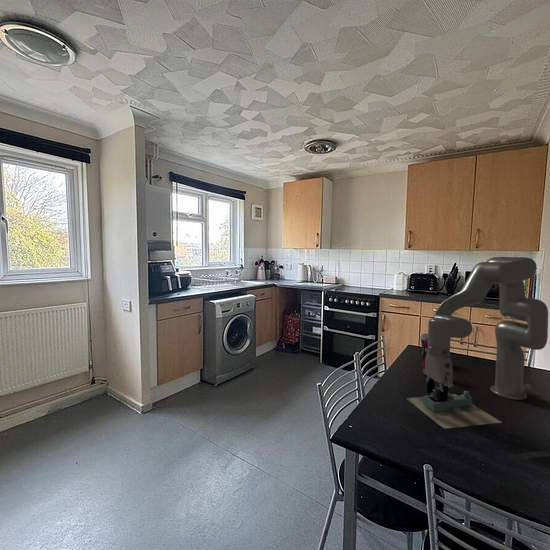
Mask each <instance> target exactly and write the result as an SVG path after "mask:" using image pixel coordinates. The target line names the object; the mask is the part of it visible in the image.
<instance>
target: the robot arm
mask: <svg viewBox="0 0 550 550" xmlns="http://www.w3.org/2000/svg"><path fill="white" fill-rule="evenodd" d="M537 269H538V268H537V263H536V261H535V260H534V259H533V258H530V257H527V256H524V257H523V256H521V257H520V256H495V257H490V258H489V259H487V260H486V261H482V262H478V263H477V264H475V265H474V267H473V268H472V270H471V271H470V273H469V275H468V276H467V278H466V280H465V281H464V284H463V285H462V288H461V289H460V290H459V291H458V292H455V293H454V294H453V295H451V296H450V297H448V298H446V299H445V300H444V301H442V302H441V303H440V304H439V306H438V308H437V309H436V311H435V313H434V315H433V317H431V318H429V320H428V325H427V327H428V328H427V329H428V330H427V334H428V350H427V355H426V362H425V368H424V369H423V368H422V373H423V372H424V374H425V375H424V377H425V382H426V393H427V394H431V393H433V389H434V388H435V385H436V383H438V384H439V388H440V390H441V391H439V401H440V402H442V401H447V400H448V393H449V392H450V391H451V390H452V388H454V387H455V384H454V383H453V381H454V375H453V374H454V371H453V363H452V357H451V356H450V355H451V340H452V339H451V338H457V339H463V338H467V337H469V336H470V335H471V334H472V332H473V324H472V323H471V322H470V321H469V320H468V319H466V318H464V317H463V318H462V317H459V316H453V314H454V313H455V312H456V311H458V310H460V309H462V308H465V307H471V306H474V305H478V304H481V303H482V302H484V300H485V298H486V296H487V294H488V293H489V291H490V289H491V288H492V286H493V285H498V287H499V312H500V315H501V316H502V317H505V318H507V319H511V320H501V321H499V322H498V323H497V324H496V325H495V327H494V334H495V335H494V336H495V341H496V355H495V356H496V359H495V377H494V379H495V380H494V384H493V385H490V391H491V392H492V393H493V394H495V395H497V396H499V397H502V398H505V399H509V400H516V401H522V400H527V398H528V395H527V393H526V392H525V391H526V390H531V389H532V385H531V384H529V383H528V384H524V371H525V358H526V357H525V353H524V349H523V348H525V349H526V348H527V349H530V350H534V351H541V350H543V349H544V348H545V347H546V345H547V343H548V337H549V335H548V334H549V332H548V331H549V310H548V306H547V304H546V303H545V302H544V301H542V300H540V299H537V298H529V297H526V287H525V283H524V281H526V280H529V279H531V278H532V277H533V276H535V274H536V273H537ZM512 320H514V321H512ZM515 320H517V321H520V322H517V321H515ZM521 321H522V322H521ZM523 322H526V323H523Z"/></svg>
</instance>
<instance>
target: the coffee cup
mask: <svg viewBox="0 0 550 550" xmlns="http://www.w3.org/2000/svg"><path fill="white" fill-rule="evenodd" d="M419 339H420V345H421V359H422V362H423V361H424V359H425V357H426V351H425V348H426V347H425V345H424V342H425V340H426V339H428V333H421V335H420V337H419Z"/></svg>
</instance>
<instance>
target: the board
mask: <svg viewBox="0 0 550 550" xmlns="http://www.w3.org/2000/svg"><path fill="white" fill-rule="evenodd" d="M435 388H436V389H439V390H440V386H438V385H437V384H435ZM440 391H441V390H440ZM430 395H433V393H430ZM454 396H459V395H457V394H456V393H455V394H454V393H453V394H452V393H449V392H448V400H454ZM406 400H407V401H408V402H410V403H411V404H412V405H413V406H415V407H416V408H417V409H419V411H421V412H422V413H424V414H425V415H426V416H427V417H428V418H430V419H431V420H432V421H434V422H435V423H436V424H437V425H439V426H440V427H442V429H445V430H446V429H454V428H465V427H474V426H482V425H492V424H501V423H503V422H502V421H501V420H499V419H498V418H495V417H494V416H492V415H491V414H489V413H488V412H486V411H484V410H483V409H481V408H479V407H478V406H476V405H474V404H473V403H472V407H454V408H449V410H448V411H436V412H434V411H432V410H431V409H430V408H428V407H427V406H426V405H425V404H423V396H420V397H408V398H406Z"/></svg>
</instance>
